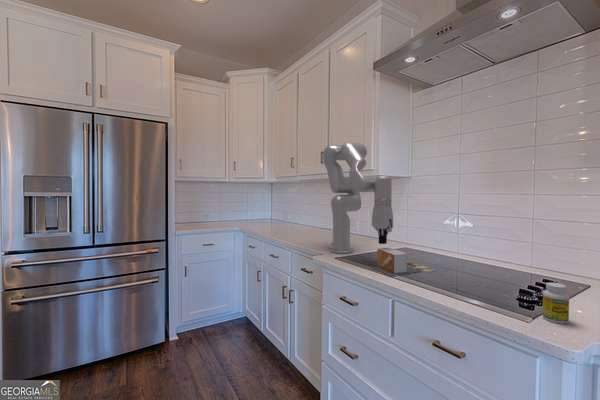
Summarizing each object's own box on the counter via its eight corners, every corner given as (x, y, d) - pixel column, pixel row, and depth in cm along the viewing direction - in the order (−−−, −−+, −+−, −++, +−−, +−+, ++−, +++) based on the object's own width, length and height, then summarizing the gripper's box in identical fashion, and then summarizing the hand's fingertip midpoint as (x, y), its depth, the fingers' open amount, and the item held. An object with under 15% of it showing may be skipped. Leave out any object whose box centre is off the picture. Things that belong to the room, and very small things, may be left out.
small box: (376, 248, 132) (394, 254, 120) (388, 247, 134) (407, 253, 122) (376, 266, 133) (394, 273, 120) (389, 264, 134) (407, 272, 122)
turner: (398, 263, 138) (398, 260, 138) (406, 261, 140) (406, 259, 140) (426, 272, 123) (426, 270, 123) (435, 271, 125) (435, 268, 125)
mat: (369, 267, 130) (369, 267, 130) (397, 264, 136) (397, 263, 136) (390, 276, 117) (390, 276, 117) (421, 271, 124) (421, 271, 124)
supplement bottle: (559, 316, 81) (560, 281, 81) (573, 325, 76) (575, 288, 76) (537, 314, 82) (538, 281, 82) (550, 323, 77) (551, 287, 76)
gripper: (366, 202, 138) (366, 241, 139) (387, 204, 125) (386, 247, 126) (379, 202, 141) (378, 240, 142) (400, 204, 128) (400, 245, 128)
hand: (382, 243), depth 134 cm, fingers closed
